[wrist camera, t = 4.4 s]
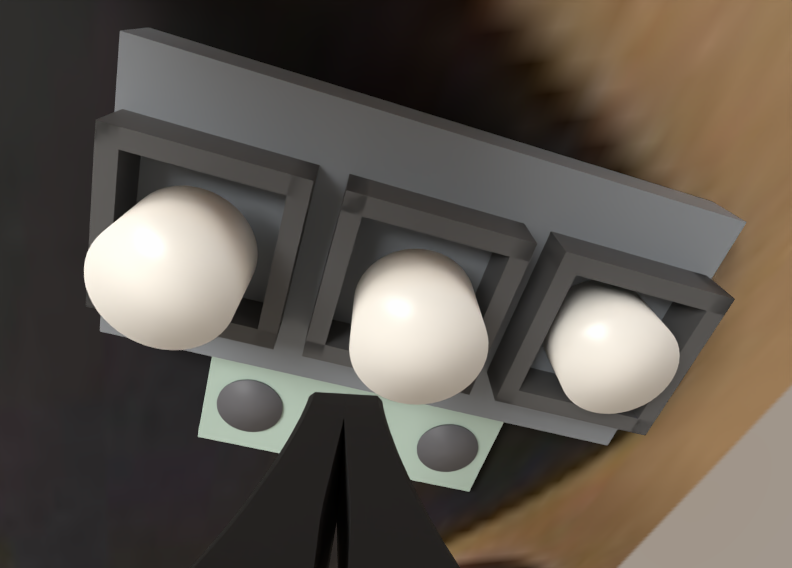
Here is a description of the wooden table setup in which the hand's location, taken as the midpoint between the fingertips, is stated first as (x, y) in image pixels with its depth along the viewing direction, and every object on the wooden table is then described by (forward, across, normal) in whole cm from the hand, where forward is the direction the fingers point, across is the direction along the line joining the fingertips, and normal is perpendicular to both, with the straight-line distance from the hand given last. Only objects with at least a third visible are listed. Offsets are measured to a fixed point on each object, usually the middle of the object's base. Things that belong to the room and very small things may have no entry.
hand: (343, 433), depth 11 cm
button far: (+8, -8, +1) cm, 11 cm away
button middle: (+6, -2, 0) cm, 6 cm away
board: (+10, -2, 0) cm, 10 cm away
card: (+10, 0, +8) cm, 12 cm away
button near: (+6, +5, -1) cm, 8 cm away
